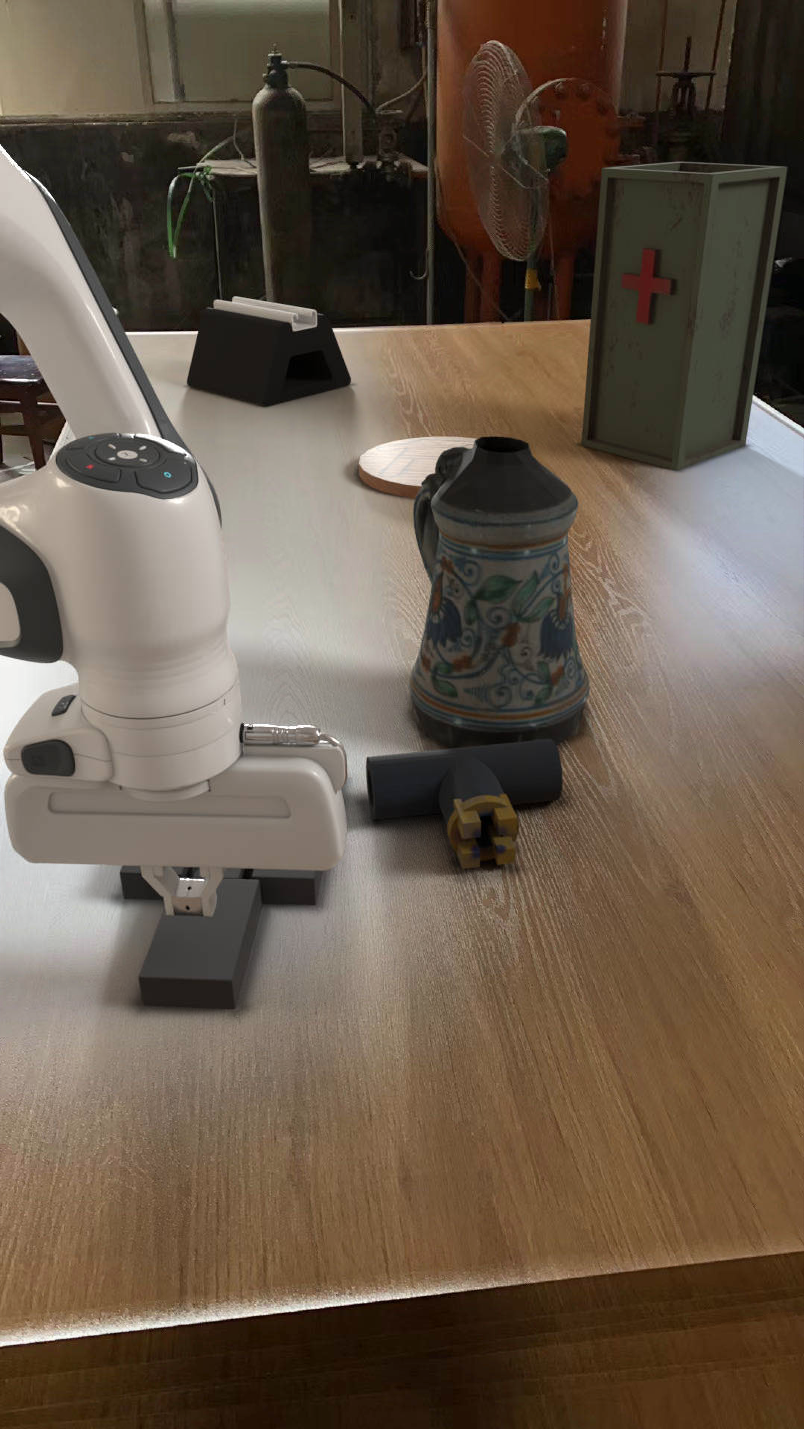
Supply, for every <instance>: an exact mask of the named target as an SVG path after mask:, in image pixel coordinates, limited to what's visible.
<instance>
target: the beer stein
mask: <svg viewBox="0 0 804 1429" xmlns="http://www.w3.org/2000/svg"><path fill="white" fill-rule="evenodd" d="M475 439H476V440H475V442H474V445H473V448H471V449H470V448H465V447H454V448H451V449H448V450H446V451H443V452H442V454H441V455H440V457H439V458H438V460H437V463H436V467H435V473H433V474H430V475H428V476H427V477H426V478H425V480H424V481H423V482H422V483H421V485H422V487H421V488H420V490H419V492H418V494H417V496H416V498H414V503H413V511H412V521H413V530H414V535H415V540H416V544H417V548H418V552H419V554H420V558H421V561H422V564H423V567H424V570H425V572H426V574H427V577H428V579H429V582H430V585H431V587H430V594H429V599H428V606H427V611H426V617H425V621H424V622H425V623H424V628H423V633H422V638H421V643H420V647H419V651H418V654H417V657H416V660H415V662H414V664H413V666H412V668H411V671H410V674H409V678H408V690H409V696H410V700H411V703H412V706H413V715H414V717H415V719H416V721H417V723H418V725H419V727H420V729H421V730H423V731H424V732H425V733H426V734H427V735H428V736H429V737H431V738H433V739H435V740H436V741H439V743H442V744H443V745H445V746H448V748H449V747H450V748H451V749H453V748H464V747H474V746H484V745H494V744H504V743H515V742H525V741H535V740H545V739H552V740H553V741H554V742H555V744H556V746H558V745H560V744H561V743H564V742H565V741H567V740H568V739H571V738H572V737H574V736H576V735H578V731H579V729H580V724H581V721H582V717H583V714H584V710H585V706H586V703H587V701H588V698H589V695H590V679H589V675H588V672H587V671H586V669H585V667H584V663H583V661H582V658H581V654H580V649H579V645H578V636H577V630H576V622H575V611H574V601H573V589H572V577H571V576H572V575H571V562H570V551H569V531H570V529H571V527H572V526H573V524H574V523H575V521H576V516H577V512H578V509H579V500H578V498H577V495H576V494H575V493H574V492H573V490H572V489H571V487H570V486H569V485H568V484H567V483H566V482H564V481H563V479H561V477H559V476H558V475H556V474H555V473H553V472H552V471H551V470H550V469H549V468H547V467H546V466H545V465H544V464H542V463H541V462H540V461H539V460H538V459H537V458H535V456H534V455H533V454H532V453H533V452H532V450H531V447H530V443H529V442H527V441H525V440H522V439H518V438H514V437H509V436H495V435H491V436H481V437H479V438H475Z"/></svg>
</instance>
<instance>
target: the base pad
mask: <svg viewBox="0 0 804 1429" xmlns="http://www.w3.org/2000/svg"><path fill="white" fill-rule="evenodd" d="M172 869H173V870H174V871H175V873H176V874H177V875H178V876H179V878H195V875H196V872H197V869H198V867H172ZM323 873H324V871H320V870H283V869H252V874H251V880H259V881H260V890H261V901H262V905H264V904H265V905H291V906H293V905H294V906H317V905H318V904H317V903H318V898H319V893H320V890H321V889H320V887H321V885H322V884H321V883H322V877H323ZM119 878H120V884H121V889H122V896H123V900H138V901H139V900H144V901H164V897H163V896H161V895H160V894H159V893H158V892H157V891H156V890H155V889H154V888H153V887H152V886H151V885H150V884H149V883H148V882H147V881H146V880H145V879H144V878H143V877H142V873H141V868H140V866H130V865H121V867H120V870H119Z"/></svg>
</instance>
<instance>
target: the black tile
mask: <svg viewBox="0 0 804 1429" xmlns="http://www.w3.org/2000/svg"><path fill="white" fill-rule="evenodd" d="M180 879H191V880H205V878H203V877H201V875H200V870H199V871H198V874H197V877H194V878H180ZM216 895H217V903H216V907H215V910H214V914H213V916H212V917H206V916H172V915H167V914H166V909H165V907H164V908H163V911H162V914H161V916H160V919H159V922H158V924H157V926H156V929H155V932H154V935H153V937H152V940H151V942H150V945H149V948H148V950H147V953H146V955H145V958H144V961H143V964H142V967H141V969H140V972H139V975H138V984H139V989H140V995H141V996H140V997H141V1000H142V1006H145V1007H147V1006H148V1007H168V1008H169V1007H172V1008H196V1009H197V1008H200V1009H201V1008H203V1009H225V1010H226V1009H227V1010H228V1009H229V1010H235V1009H236V1008H237V1005H238V1002H239V997H240V993H241V989H242V986H243V982H244V978H245V975H246V970H247V967H248V963H249V959H250V956H251V952H252V948H253V944H254V939H255V936H256V931H257V928H258V924H259V920H260V917H261V912H262V910H263V904H262V901H261V890H260V881H259V880H252V879H250V876H249V869H245V868H226V870H225V873H224V876H223V879H222V881H221V882H220V884H219V885H218V887H217V889H216Z"/></svg>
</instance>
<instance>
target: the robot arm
mask: <svg viewBox="0 0 804 1429" xmlns="http://www.w3.org/2000/svg"><path fill="white" fill-rule="evenodd" d="M0 314H1V315H2V316H3V317H4V318H5V319H6V320H7V321H8V322H9V324H11V326H12V327H13V328H14V330H16V332H17V333H18V335H19V337H20V339H21V340H22V341H23V343H24V345H25V347H26V349H27V351H28V353H29V354H30V357H31V358H32V360H33V362H34V364H35V366H36V367H37V369H38V371H39V373H40V375H41V377H42V378H43V380H44V382H45V383H46V386H47V387H48V389H49V391H50V393H51V395H52V397H53V399H54V400H55V402H56V404H57V406H58V408H59V409H60V411H61V413H62V415H63V417H64V419H65V421H66V422H67V424H68V426H69V428H70V430H71V432H72V433H73V436H74V438H75V439H74V440H72V441H70V442H68V443H66V444H64V445H63V446H61V447H60V448H58V450H57V451H55V452H54V454H52V455H51V457H50V459H49V460H48V462H46V465H43V466H41V468H39V469H37V470H36V471H33V472H31V473H29V474H24V475H21V476H18V477H15V478H12V479H9V480H6V481H3V482H0V656H3V657H6V658H10V659H15V660H19V661H25V662H29V663H35V664H36V663H37V664H54V663H56V662H58V661H60V662H65V663H67V664H69V665H71V667H73V668H74V670H75V672H76V674H77V678H78V679H77V680H78V682H75V683H72V684H69V685H65V686H62V687H58V688H54V689H51V690H48V691H46V692H44V693H42V694H41V695H40V696H39V697H38V698H37V699H36V700H35V701H34V702H33V703H32V704H31V705H30V706H29V708H27V710H26V711H25V713H24V714H22V717H20V719H19V720H18V722H17V723H16V724H15V726H14V727H13V730H12V731H11V733H10V734H9V736H8V739H7V740H6V743H5V744H4V747H3V750H2V752H3V753H2V754H3V755H2V756H3V760H4V763H5V765H6V768H7V769H8V771H10V773H11V774H10V775H9V777H8V779H7V781H5V782H6V783H5V785H4V792H3V798H4V801H3V802H4V812H5V820H6V821H5V822H6V827H7V832H8V836H9V840H10V844H11V847H12V849H13V851H14V852H16V853H17V854H18V855H19V856H20V857H21V858H22V859H24V860H25V861H26V862H28V863H29V864H51V865H52V864H53V865H54V864H55V865H56V864H58V865H59V864H60V865H92V866H93V865H94V866H95V865H98V866H123V865H130V866H140V868H141V873H142V877H143V878H144V879H145V880H146V881H147V882H148V883H149V884H150V885H151V886H152V887H153V888H154V889H155V890H156V891H157V892H158V893H159V894H160V895H161V896H163V897H164V900H163V904H164V908H165V909H166V914H167V915H172V916H206V917H212V916H213V914H214V910H215V907H216V903H217V895H216V889H217V887H218V885H219V884H220V882H221V881H222V879H223V876H224V873H225V870H226V868H245V869H248V870H249V869H251V870H254V869H283V870H320V871H323V872H324V871H330V870H332V868H334V867H335V866H336V865H337V864H338V862H339V861H340V860H341V859H342V858H343V856H344V852H345V848H346V843H347V836H348V834H347V833H348V823H347V813H346V807H345V799H344V796H343V795H344V794H343V791H342V788H343V787H344V786H345V785H346V783H347V779H348V774H349V773H348V757H347V756H348V755H347V752H346V750H345V747H344V745H343V744H342V743H341V742H340V741H339V740H338V739H337V738H335V737H334V736H333V735H330V734H328V733H325V732H321V728H320V727H318V726H313V725H297V726H279V725H274V724H250V723H249V724H245V723H244V719H243V708H242V699H241V690H240V688H241V687H240V679H239V670H238V669H239V668H238V664H237V660H236V657H235V655H234V653H233V650H232V648H231V646H230V644H229V640H228V623H229V622H228V621H229V617H230V613H231V605H232V602H231V600H232V599H231V589H230V588H231V587H230V579H229V571H228V563H227V556H226V549H225V542H224V536H223V532H222V531H223V530H222V529H223V528H222V526H223V524H222V522H223V520H222V519H223V518H222V511H221V504H220V501H219V498H218V493H217V491H216V489H215V486H214V485H213V483H212V481H211V478H210V477H209V476H208V474H207V472H206V471H205V469H204V468H203V466H202V465H201V463H200V462H199V460H198V459H197V457H196V456H195V455H194V453H193V452H192V450H190V448H189V446H188V445H187V444H186V442H185V441H184V440H183V438H182V436H181V435H180V434H179V432H178V431H177V430H176V428H175V426H174V425H173V423H172V421H171V420H170V418H169V416H168V414H167V413H166V411H165V408H164V407H163V404H162V402H161V401H160V400H159V397H158V396H157V393H156V391H155V389H154V388H153V385H152V383H151V381H150V379H149V378H148V375H147V373H146V371H145V369H144V367H143V365H142V363H141V361H140V359H139V357H138V355H137V353H136V351H135V349H134V347H133V346H132V343H131V341H130V339H129V337H128V334H127V333H126V331H125V329H124V327H123V325H122V323H121V321H120V319H119V317H118V315H117V313H116V311H115V309H114V308H113V305H112V303H111V301H110V299H109V297H108V296H107V293H106V291H105V289H104V287H103V286H102V283H101V281H100V280H99V277H98V275H97V273H96V272H95V270H94V268H93V266H92V263H91V262H90V260H89V258H88V256H87V253H86V252H85V250H84V248H83V246H82V245H81V243H80V240H79V239H78V237H77V235H76V234H75V232H74V230H73V228H72V226H71V224H70V223H69V221H68V219H67V217H66V216H65V214H64V213H63V211H62V210H61V207H60V206H59V204H58V203H57V202H56V201H55V199H54V197H53V196H52V195H51V193H50V192H49V191H48V189H47V188H46V187H45V186H44V185H43V184H42V183H41V182H40V181H39V180H38V179H37V178H36V177H35V176H33V175H32V174H30V173H29V172H27V171H26V170H25V169H23V168H22V167H20V166H19V165H18V163H16V162H15V161H14V160H13V159H12V157H11V156H10V155H9V154H8V153H7V151H6V150H5V149H4V148H3V146H2V145H0ZM172 867H197V868H199V871H200V875H201V877H203V878H205V880H191V879H180V878H179V876H178V875H177V874H176V873H175V871H174V870H173V869H172Z"/></svg>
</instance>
